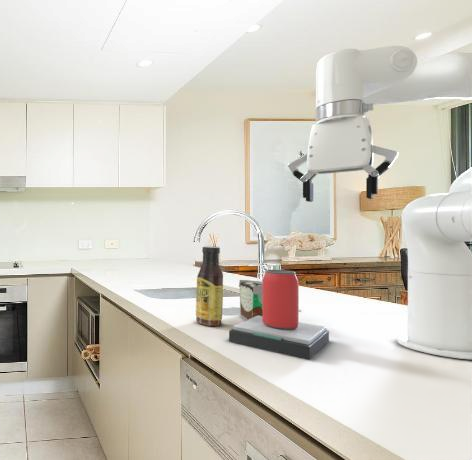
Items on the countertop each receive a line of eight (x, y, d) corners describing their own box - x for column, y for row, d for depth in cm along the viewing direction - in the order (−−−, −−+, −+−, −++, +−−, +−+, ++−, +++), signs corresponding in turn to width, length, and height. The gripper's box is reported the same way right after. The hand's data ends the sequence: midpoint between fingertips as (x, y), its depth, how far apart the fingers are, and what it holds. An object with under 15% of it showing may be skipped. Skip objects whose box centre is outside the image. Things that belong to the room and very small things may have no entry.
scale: (256, 327, 88) (256, 314, 88) (328, 341, 77) (329, 326, 77) (228, 341, 77) (229, 326, 77) (309, 359, 66) (309, 342, 66)
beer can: (261, 327, 76) (261, 271, 76) (263, 320, 82) (263, 268, 82) (298, 332, 73) (298, 273, 73) (298, 325, 78) (298, 270, 78)
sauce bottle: (191, 320, 94) (191, 245, 94) (213, 320, 95) (214, 246, 95) (204, 327, 88) (205, 247, 88) (228, 327, 88) (228, 247, 88)
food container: (280, 326, 89) (281, 286, 89) (253, 325, 90) (254, 285, 90) (262, 315, 101) (262, 280, 101) (238, 314, 102) (238, 279, 102)
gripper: (399, 109, 68) (399, 198, 68) (293, 128, 81) (293, 203, 81) (396, 99, 63) (395, 195, 63) (283, 121, 76) (283, 201, 76)
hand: (338, 199), depth 72 cm, fingers open, 9 cm apart
